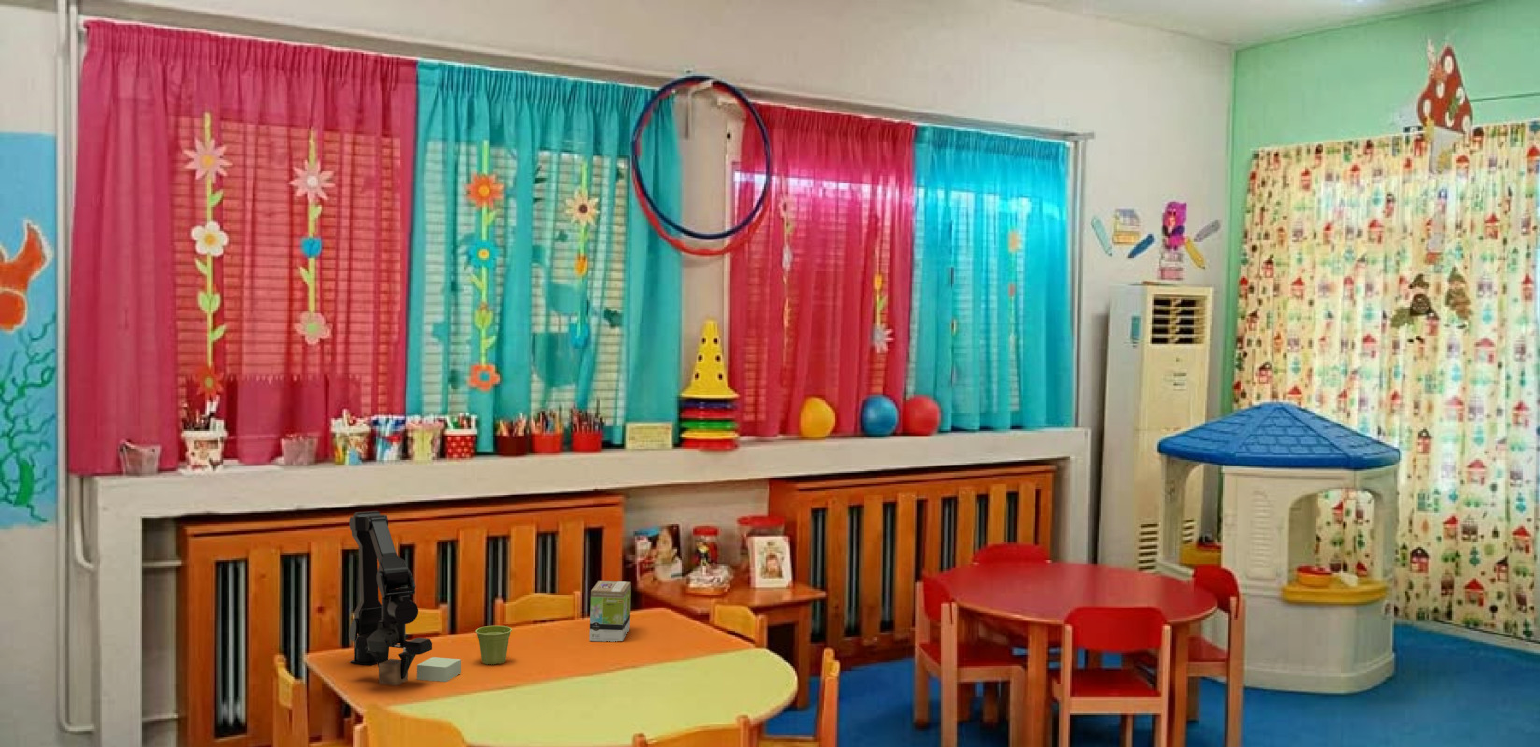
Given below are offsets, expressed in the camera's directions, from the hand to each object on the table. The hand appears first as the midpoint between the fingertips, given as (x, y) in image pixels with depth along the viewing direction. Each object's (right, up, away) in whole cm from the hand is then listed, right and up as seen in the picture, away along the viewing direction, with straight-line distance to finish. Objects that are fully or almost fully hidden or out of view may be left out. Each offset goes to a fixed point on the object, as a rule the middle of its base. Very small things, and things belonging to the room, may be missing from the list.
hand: (393, 677), depth 319 cm
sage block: (+10, -1, +5) cm, 11 cm away
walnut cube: (0, -1, 0) cm, 1 cm away
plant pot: (+21, -1, +20) cm, 29 cm away
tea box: (+48, 0, +50) cm, 69 cm away
